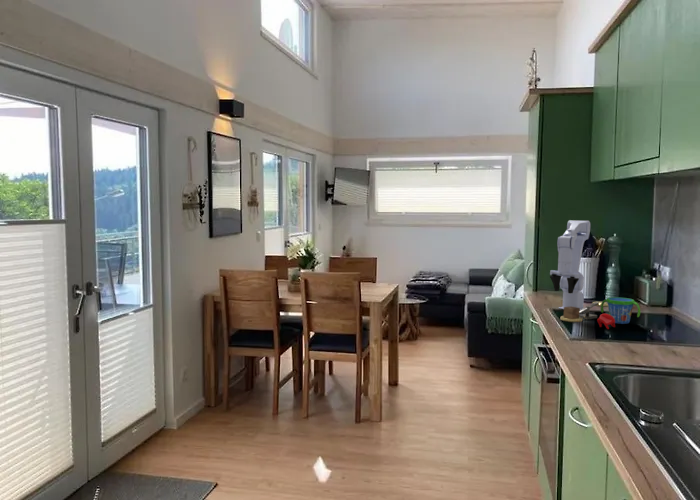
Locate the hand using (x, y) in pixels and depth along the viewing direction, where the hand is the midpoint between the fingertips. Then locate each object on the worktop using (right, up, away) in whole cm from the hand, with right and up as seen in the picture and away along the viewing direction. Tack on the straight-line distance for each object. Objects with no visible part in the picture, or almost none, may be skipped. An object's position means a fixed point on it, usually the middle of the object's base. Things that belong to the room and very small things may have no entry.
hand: (563, 292), depth 255 cm
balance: (+8, -11, -6) cm, 15 cm away
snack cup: (+18, -12, -16) cm, 27 cm away
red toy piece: (+8, -13, -26) cm, 30 cm away
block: (-1, -10, -12) cm, 16 cm away
